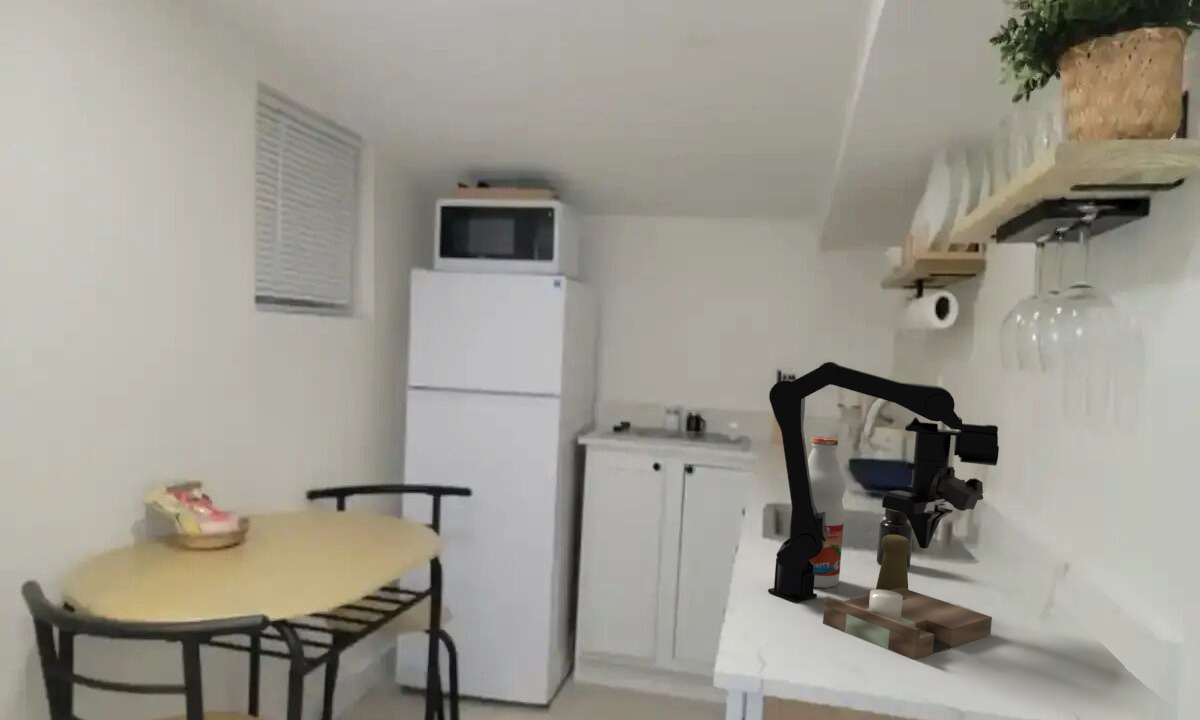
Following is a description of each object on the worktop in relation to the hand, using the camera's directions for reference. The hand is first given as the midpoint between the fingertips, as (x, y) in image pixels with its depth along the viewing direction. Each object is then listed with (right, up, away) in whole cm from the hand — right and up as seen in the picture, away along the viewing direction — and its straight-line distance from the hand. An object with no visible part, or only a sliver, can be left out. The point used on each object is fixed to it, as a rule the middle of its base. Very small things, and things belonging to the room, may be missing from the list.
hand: (923, 548), depth 150 cm
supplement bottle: (+6, -11, +33) cm, 35 cm away
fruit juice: (-15, -10, +18) cm, 25 cm away
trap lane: (-5, -12, -7) cm, 15 cm away
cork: (-1, -12, +13) cm, 17 cm away
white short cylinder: (-11, -9, -11) cm, 18 cm away
